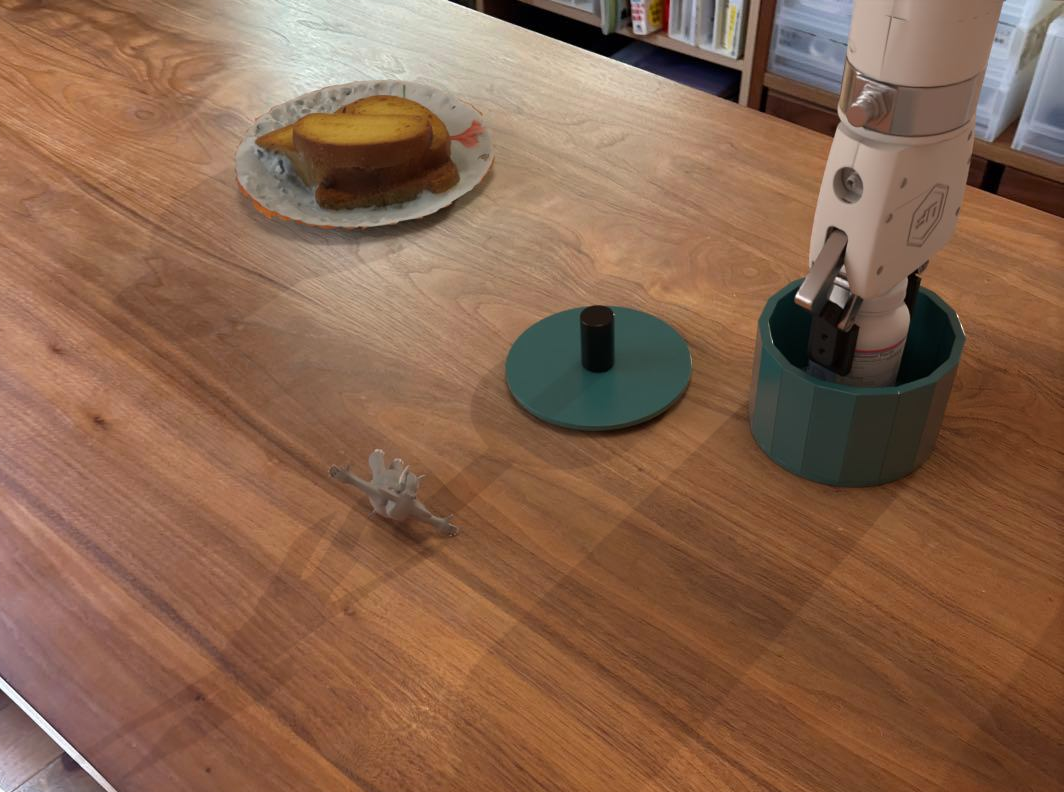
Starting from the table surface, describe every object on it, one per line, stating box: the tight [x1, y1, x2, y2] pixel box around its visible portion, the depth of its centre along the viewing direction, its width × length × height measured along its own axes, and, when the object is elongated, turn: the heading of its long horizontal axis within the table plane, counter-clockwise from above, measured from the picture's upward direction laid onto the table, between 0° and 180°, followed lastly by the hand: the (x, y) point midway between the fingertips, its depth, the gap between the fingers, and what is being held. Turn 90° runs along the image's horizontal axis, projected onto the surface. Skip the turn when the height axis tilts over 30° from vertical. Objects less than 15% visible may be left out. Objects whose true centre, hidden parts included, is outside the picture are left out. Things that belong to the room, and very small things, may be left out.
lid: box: [505, 304, 693, 432], centre depth 85 cm, size 14×14×6 cm
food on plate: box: [234, 78, 496, 231], centre depth 107 cm, size 25×25×7 cm
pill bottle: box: [807, 265, 910, 388], centre depth 76 cm, size 6×6×11 cm
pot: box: [747, 276, 967, 488], centre depth 78 cm, size 13×13×8 cm
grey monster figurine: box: [327, 448, 460, 537], centre depth 76 cm, size 10×6×9 cm
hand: (858, 340), depth 76 cm, fingers closed on pill bottle, 6 cm apart
